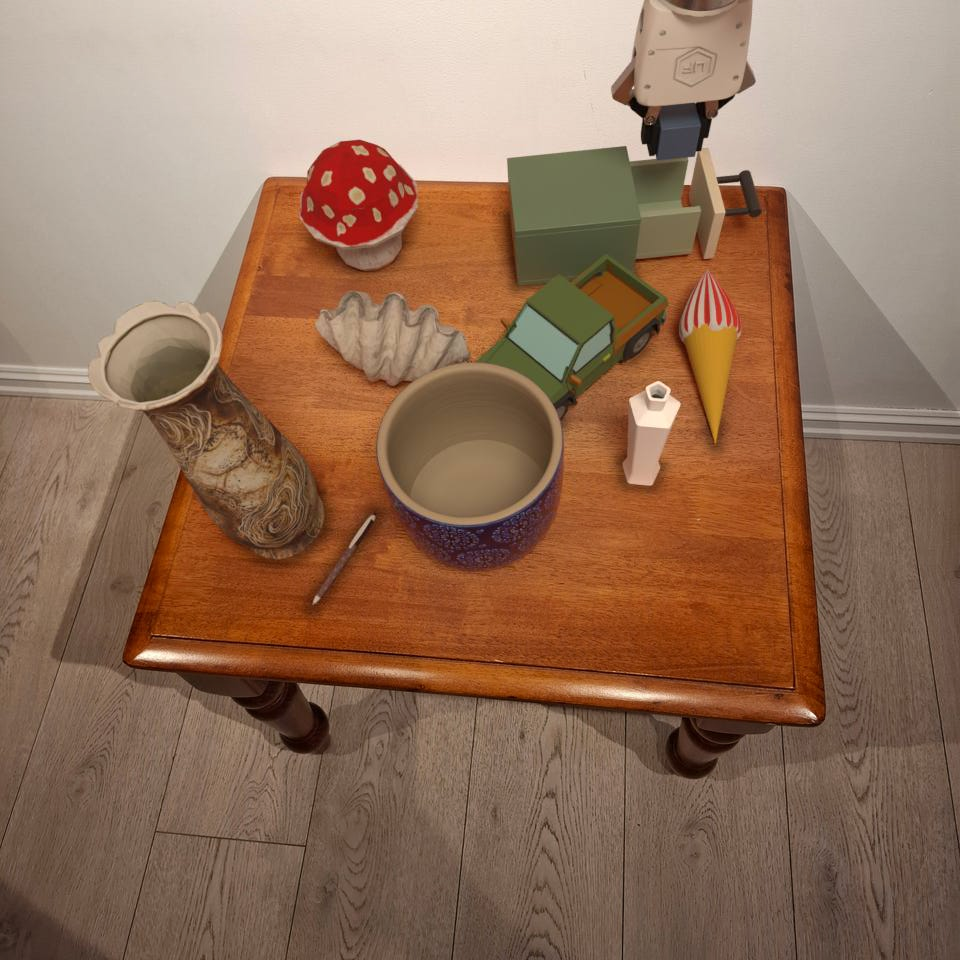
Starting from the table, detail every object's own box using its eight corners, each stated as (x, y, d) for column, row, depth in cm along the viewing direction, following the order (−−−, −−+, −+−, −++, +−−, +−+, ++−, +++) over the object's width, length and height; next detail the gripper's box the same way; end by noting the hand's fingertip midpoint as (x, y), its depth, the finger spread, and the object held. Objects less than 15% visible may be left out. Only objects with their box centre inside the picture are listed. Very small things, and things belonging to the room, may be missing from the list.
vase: (315, 572, 84) (208, 419, 57) (215, 559, 86) (65, 404, 59) (339, 480, 89) (250, 299, 62) (244, 469, 90) (117, 287, 63)
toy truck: (464, 390, 93) (455, 336, 84) (598, 280, 98) (604, 218, 89) (536, 455, 88) (536, 404, 80) (673, 336, 94) (686, 276, 85)
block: (688, 130, 89) (694, 98, 86) (695, 157, 88) (701, 125, 84) (650, 133, 90) (655, 102, 86) (656, 160, 88) (661, 129, 84)
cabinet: (620, 204, 103) (626, 145, 95) (633, 275, 98) (641, 218, 90) (509, 215, 104) (506, 157, 96) (517, 286, 99) (515, 231, 91)
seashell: (373, 306, 99) (356, 247, 90) (479, 359, 94) (472, 303, 86) (320, 369, 95) (297, 314, 86) (427, 427, 91) (414, 375, 82)
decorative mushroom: (413, 303, 99) (392, 209, 85) (301, 289, 101) (264, 195, 87) (439, 215, 105) (424, 114, 91) (333, 203, 107) (303, 103, 93)
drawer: (738, 191, 102) (752, 142, 95) (756, 254, 97) (771, 207, 91) (595, 205, 102) (598, 158, 96) (606, 268, 98) (610, 223, 91)
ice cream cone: (697, 455, 92) (690, 286, 96) (755, 447, 88) (745, 271, 93) (673, 443, 87) (667, 266, 92) (732, 433, 83) (723, 249, 88)
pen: (373, 512, 87) (371, 508, 86) (379, 516, 87) (378, 512, 86) (310, 604, 83) (307, 600, 82) (316, 607, 83) (314, 604, 82)
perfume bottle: (669, 485, 86) (692, 408, 72) (627, 493, 86) (642, 417, 72) (657, 446, 88) (677, 365, 75) (616, 454, 88) (629, 374, 74)
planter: (589, 478, 87) (597, 402, 73) (514, 615, 81) (508, 559, 67) (451, 417, 91) (434, 334, 78) (370, 542, 85) (337, 476, 72)
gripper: (610, 11, 71) (597, 178, 87) (810, -10, 70) (760, 162, 87) (598, -43, 74) (588, 127, 90) (789, -64, 74) (745, 111, 90)
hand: (672, 143), depth 88 cm, fingers closed on block, 4 cm apart
